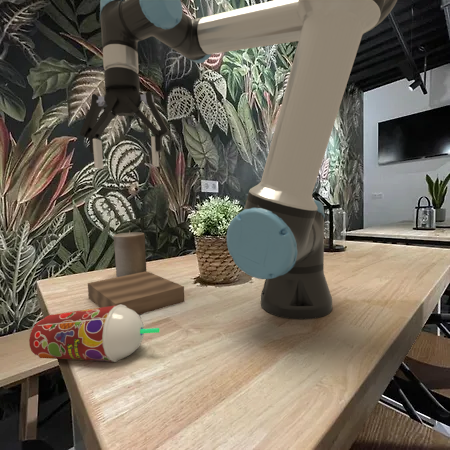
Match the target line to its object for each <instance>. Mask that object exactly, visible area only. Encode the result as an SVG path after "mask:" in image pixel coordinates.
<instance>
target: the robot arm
mask: <svg viewBox="0 0 450 450" xmlns="http://www.w3.org/2000/svg"><path fill="white" fill-rule="evenodd" d="M99 2H100V3H99V4H100V5H99V8H100V9H99V11H100V12H99V20H100V28H101V29H100V31H101V42H102V43H101V44H102V45H101V46H102V57H103V58H102V60H103V64H102V65H103V69H104V71H103V75H104V77H103V78H104V89H105V94H104V96H102V95H98V94H96V93H93V94H92V95H91V100H90V101H91V103H90V107H89V109H88V111H87V113H86V117H85V119H84V122H83V124H82V127H81V129H80V131H79V134H80V136H81V137H83V138H86V139H88V141H89V142H88V143H89V144H88V145H89V152H90V154H93V159H94V160H93V161H94V162H93V163H94V168H96V169H104V159H103V157H104V156H103V146H102V144H103V143H102V140H100V137H101V136H102V135H103V133H104V132H105V130H106V129H107V127H108V126H109V125H110V123H111V122H112V120H113V119H115V118H116V116H119V117H124V116H128V117H129V116H131V117H132V116H133V115H136V116H137V117H138V118H139V119H140V120H141V122H142V123H143V124H144V125H145V126H146V127H147V128H148V129H149V130H150V132H151V133H153V135H154V136H150V137H151V138H150V140H151V141H150V142H151V143H150V144H151V162H152V166H153V167H156V168H159V167H160V159H159V153H162V151H163V137H165V136H169V135H170V130H169V129H168V126H167V125H166V123H165V120H164V118H163V117H162V115H161V113H160V112H159V110H158V107H157V106H156V103H155V97H154V95H153V94H152V93H151V92H150V91H146V92H145V94H141V90H140V89H141V88H140V87H141V86H140V75H139V53H138V52H139V51H138V42H140V41H144V40H146V39H149V38H151V37H154V38H155V39H156V40H159V42H160V43H161V42H162V43H163V44H164V45H166V46H168V47H169V48H171V49H172V50H174V51H176V52H177V53H179V54H180V55H182V56H183V57H184V58H185V59H187V60H188V61H192V62H193V63H196V64H202V63H206V61H207V60H209V58H211V56H212V55H213V54H220V53H222V54H223V53H228V52H235V51H241V50H247V49H248V50H249V49H254V48H261V47H262V48H263V47H269V46H274V45H281V44H289V43H294V42H298V43H297V47H296V50H295V53H294V58H293V61H292V64H291V67H290V68H291V69H290V72H289V76H288V79H287V83H286V86H285V90H284V94H283V97H282V102H281V106H280V109H279V114H278V116H277V120H276V123H275V124H276V125H275V126H274V127H275V128H274V131H273V136H272V139H271V142H270V145H269V150H268V154H267V158H266V161H265V165H264V169H263V172H262V176H261V181H260V182H259V183H257V185H255V186H253V187H251V188H250V189H249V191H248V193H247V198H246V201H245V205H244V208H243V210H242V211H240V212H239V213H238V214H236V215H235V216H234V217H233V218H232V220H231V221H230V223H229V225H228V227H227V231H226V247H227V250H228V253H229V255H230V257H231V258H232V260H233V263H234V264H235V265H236V267H237V268H239V270H240V271H242V272H243V273H244V274H246V275H248V276H249V277H252V278H255V279H259V280H264V284H263V287H262V291H261V294H260V305H261V308H262V309H263V311H265V312H267V313H269V314H271V315H275V316H277V317H281V318H285V319H290V320H312V319H319V318H322V317H326V316H327V315H329V314H330V313H331V312H332V311H333V297H332V294H331V292H330V288H329V285H328V281H327V278H326V275H325V271H324V270H325V269H324V265H325V264H324V258H325V257H324V256H325V253H324V252H325V218H326V215H325V211H324V209H325V208H324V204H323V203H322V202H321V201H320V200H317V199H314V198H313V191H314V189H315V186H316V183H317V179H318V178H319V177H318V176H319V173H320V170H321V167H322V164H323V160H324V157H325V154H326V152H327V148H328V145H329V142H330V139H331V136H332V132H333V129H334V126H335V123H336V119H337V116H338V114H339V113H338V112H339V110H340V107H341V104H342V100H343V98H344V94H345V91H346V88H347V84H348V81H349V78H350V76H351V75H350V74H351V72H352V69H353V66H354V63H355V59H356V58H357V57H356V56H357V53H358V50H359V47H360V44H361V40H362V37H363V35H364V34H365V33H367V32H369V31H371V30H373V29H374V28H375V27H377V26H378V25H380V24H381V23H382V22H383V21H384V20H385V19H386V18H387V16H388V15H389V14H390V13H391V12H392V10H393V8H394V7H395V6H396V4H397V2H398V0H270V1H266V2H261V3H257V4H253V5H248V6H244V7H240V8H236V9H231V10H227V11H223V12H219V13H215V14H211V15H208V16H202V17H198V18H191V17H189V16H188V15H187V14H186V13H184V12H183V6H182V2H181V0H100V1H99ZM143 102H144V103H145V105H148V108H149V110H150V111H151V113H152V115H153V117H154V119H155V121H156V122H157V124H158V126H159V128H160V129H158V128H157V127H156V126H155V125H154V124H153V122H152V121H151V120H150V119H149V118H148V117H147V116H146V115H145V113H143V111H142V110H141V109H140V108H139V107H140V105H141V104H142V103H143ZM104 104H106V105H107V106H106V107H105V108H104V110H103V113H102V115H101V116H100V117H99V115H100V114H101V110H102V107H103V106H104ZM97 120H98V121H97Z"/></svg>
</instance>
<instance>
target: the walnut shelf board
mask: <svg viewBox="0 0 450 450" xmlns="http://www.w3.org/2000/svg"><path fill="white" fill-rule="evenodd" d="M87 292H88V293H87V294H88V299H89V300H90V301H91V302H92V303H94V304H95V305H96V306H97V307H98V308H102V307H109V306H117V305H120V304H122V305H125V306H126V307H128V308H130V309H132V310H134V311H135V312H136V313H137V314H138V315H139V316H140V315H143V314H147V313H150V312H154V311H157V310H161V309H165V308H167V307H172V306H174V305H179V304H182V303H185V286H184V285H181V284H179V283H176V282H174V281H172V280H170V279H166V278H164V277H161V276H159V275H156V274H155V273H152V272H150V271H148V270H146V272H141V273H136V274H131V275H126V276H121V277H117V276H115V277H111V278H106V279H102V280H95V281H91V282H87Z"/></svg>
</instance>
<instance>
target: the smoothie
mask: <svg viewBox="0 0 450 450" xmlns="http://www.w3.org/2000/svg"><path fill="white" fill-rule="evenodd" d="M31 329H32V330H31V331H30V333H29V338H28V339H29V340H28V342H29V348H30V350H31V352H32V353H33V354H34V355H35V356H38V358H39V359H51V360H52V359H53V360H69V361H70V360H72V361H73V360H74V361H91V362H92V361H93V362H113V363H116V362H118V361H119V360H122V359H125V358H127V357H129V356H131V355H132V354H133V353H135V352H136V351H137V349H138V348H139V347H140V345H141V344H142V342H143V340H144V335H145V334H154V333H155V334H157V333H160V331H161V330H160V328H159V327H155V328H154V327H151V328H145V323H144V321H143V319H142V317H141V316H140V315H138V314H137V313H136V312H135V311H134V310H132V309H130V308H128V307H126V306H125V305H122V304H120V305H117V306H109V307H102V308H100V307H95V308H89V309H82V310H74V311H67V312H61V313H60V312H59V313H52V314H49V315H46V316H44V318H42V319H40V320H39V321H37V322H36V323H35V324H34V326H33V327H32V328H31Z"/></svg>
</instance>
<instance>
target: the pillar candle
mask: <svg viewBox="0 0 450 450" xmlns="http://www.w3.org/2000/svg"><path fill="white" fill-rule="evenodd" d="M145 236H146V235H145V233H144V232H140V231H139V232H138V231H135V232H133V231H132V232H131V230H128V232H122V233H116V234H114V235H113V245H114V258H115V259H114V260H115V272H116V273H115V274H116V276H115V277H121V276H126V275H131V274H136V273H141V272H146V271H147V256H146V254H147V253H146V237H145Z"/></svg>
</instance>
